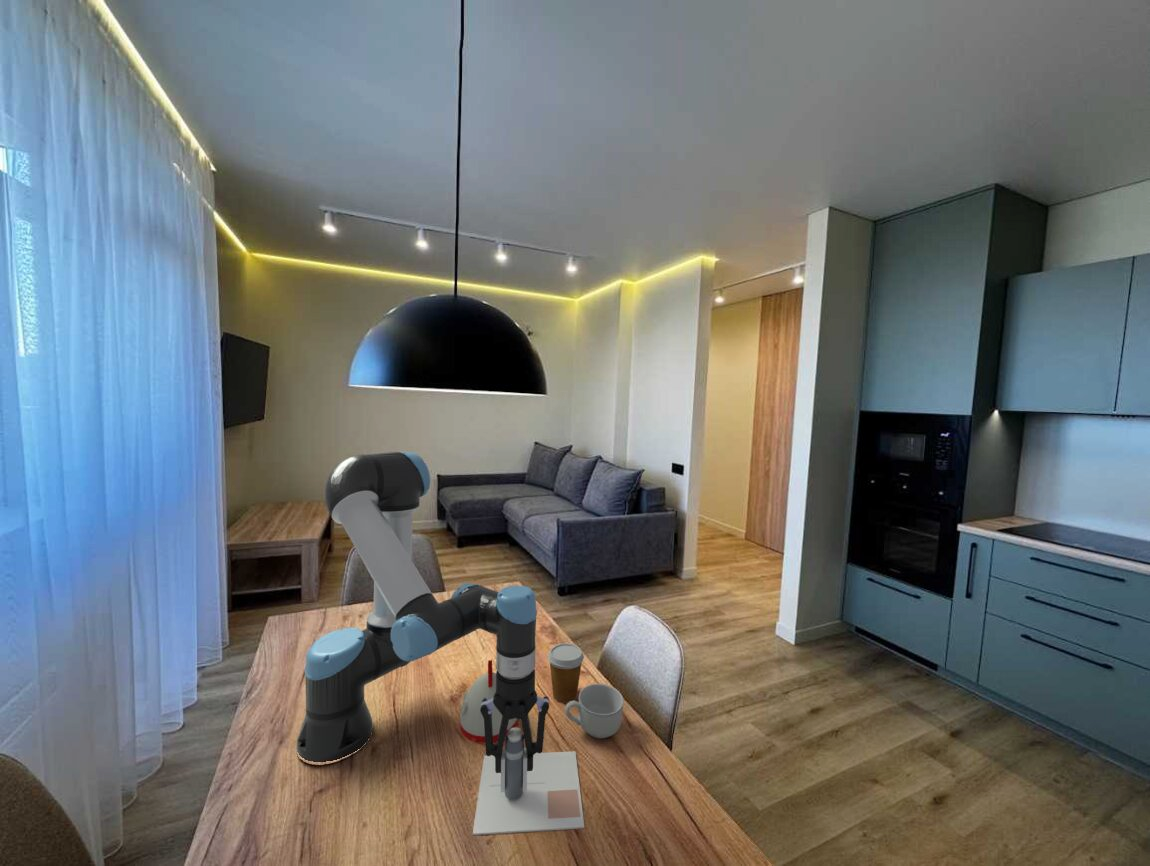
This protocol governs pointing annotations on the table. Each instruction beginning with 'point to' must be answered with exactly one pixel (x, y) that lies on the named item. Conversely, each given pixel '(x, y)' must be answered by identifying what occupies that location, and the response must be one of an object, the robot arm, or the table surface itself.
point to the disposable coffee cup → (565, 671)
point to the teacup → (598, 710)
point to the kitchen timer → (472, 704)
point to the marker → (514, 763)
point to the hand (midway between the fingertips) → (514, 785)
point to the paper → (531, 798)
